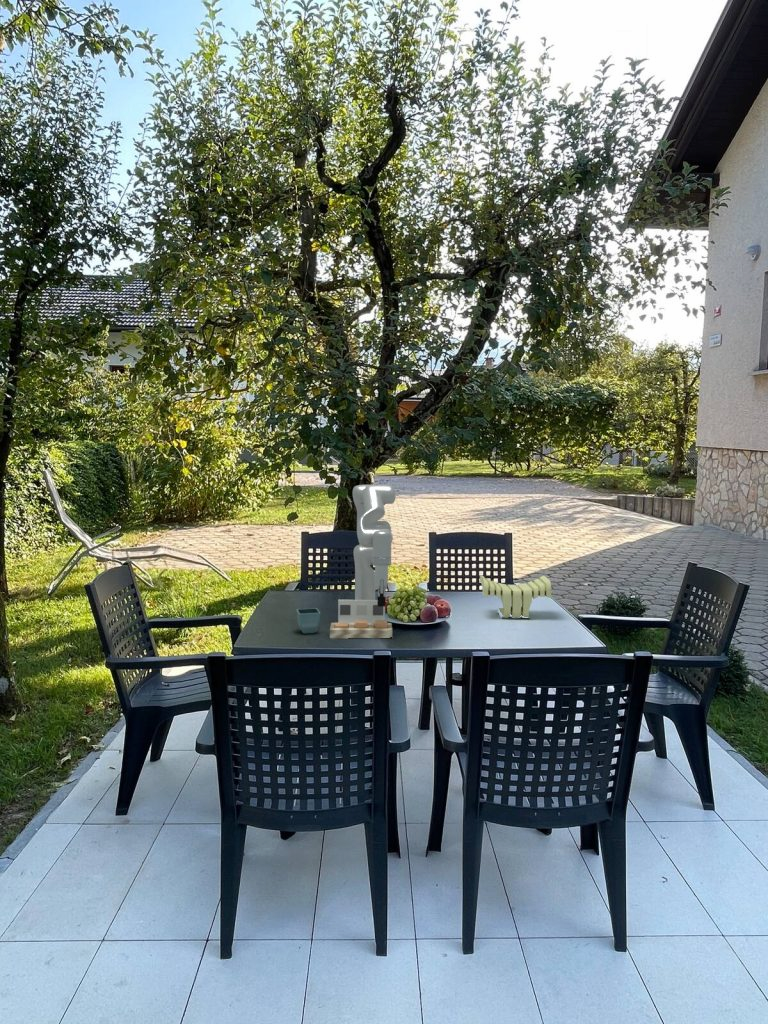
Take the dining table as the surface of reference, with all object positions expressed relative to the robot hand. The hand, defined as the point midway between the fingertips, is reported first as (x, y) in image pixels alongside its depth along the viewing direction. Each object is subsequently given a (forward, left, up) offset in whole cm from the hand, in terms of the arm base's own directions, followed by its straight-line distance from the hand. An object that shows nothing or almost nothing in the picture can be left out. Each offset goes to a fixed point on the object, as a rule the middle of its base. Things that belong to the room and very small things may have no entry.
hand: (381, 605), depth 294 cm
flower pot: (+18, -24, -12) cm, 33 cm away
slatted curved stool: (-70, +18, -12) cm, 73 cm away
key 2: (0, 0, -10) cm, 10 cm away
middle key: (+5, -6, -10) cm, 13 cm away
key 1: (+11, -12, -11) cm, 20 cm away
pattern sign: (-5, -17, -12) cm, 21 cm away
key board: (+5, -6, -12) cm, 15 cm away
